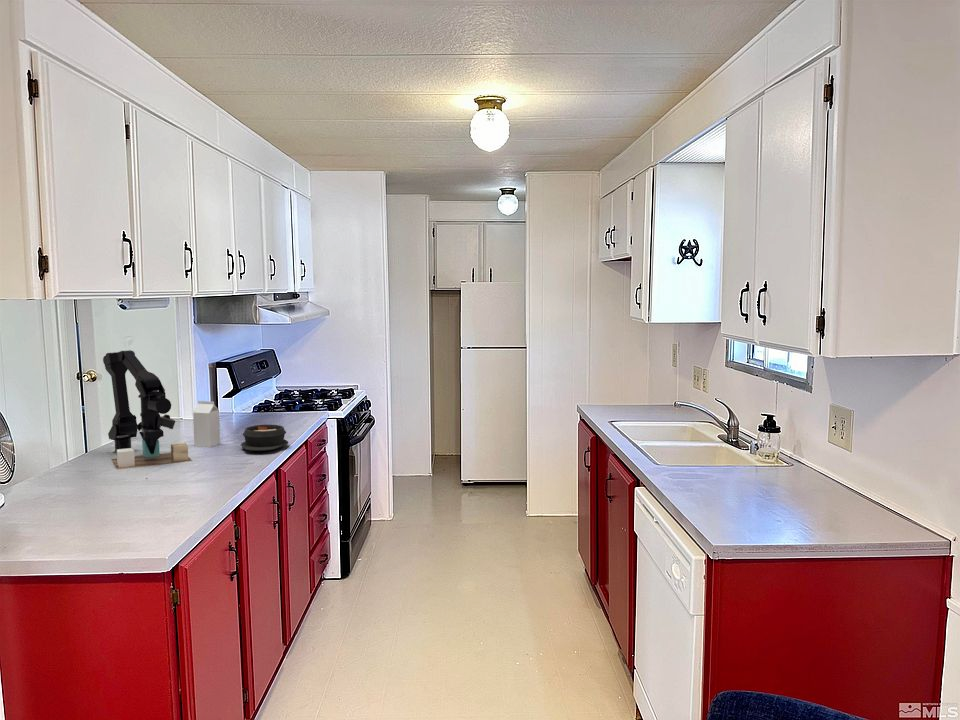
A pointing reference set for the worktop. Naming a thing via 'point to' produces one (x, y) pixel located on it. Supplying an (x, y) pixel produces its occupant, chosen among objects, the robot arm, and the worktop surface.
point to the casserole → (264, 437)
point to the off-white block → (125, 457)
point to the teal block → (146, 450)
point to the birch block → (179, 451)
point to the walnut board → (150, 461)
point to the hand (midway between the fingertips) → (151, 452)
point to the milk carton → (206, 424)
